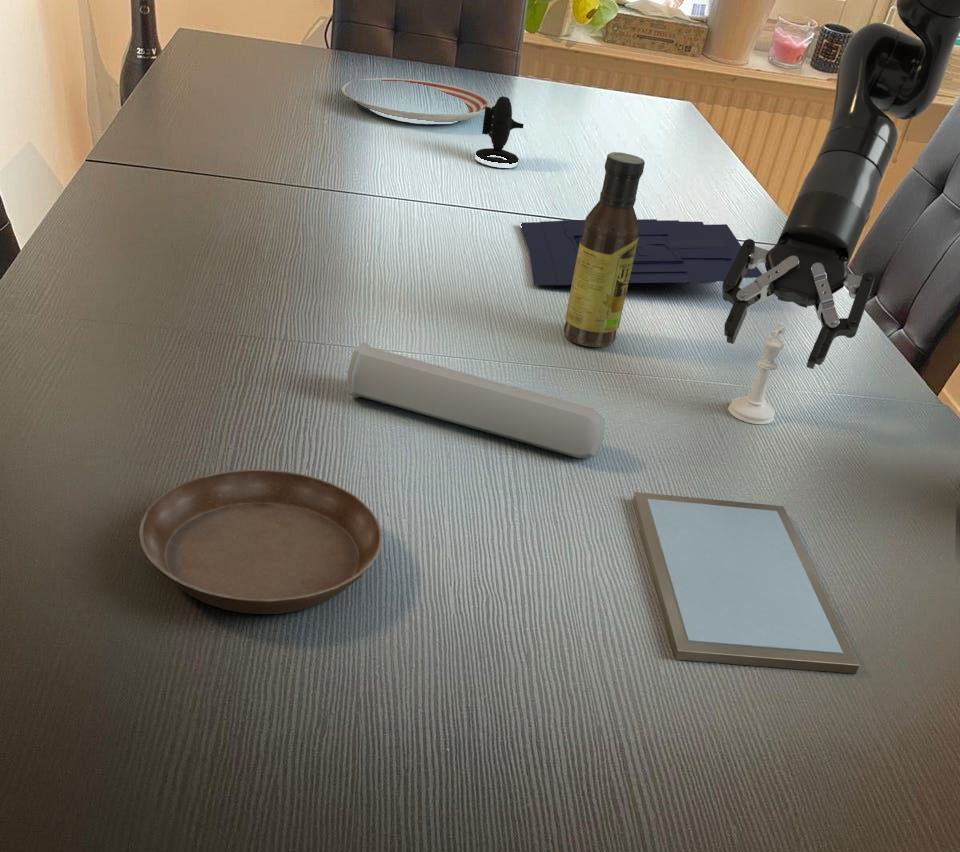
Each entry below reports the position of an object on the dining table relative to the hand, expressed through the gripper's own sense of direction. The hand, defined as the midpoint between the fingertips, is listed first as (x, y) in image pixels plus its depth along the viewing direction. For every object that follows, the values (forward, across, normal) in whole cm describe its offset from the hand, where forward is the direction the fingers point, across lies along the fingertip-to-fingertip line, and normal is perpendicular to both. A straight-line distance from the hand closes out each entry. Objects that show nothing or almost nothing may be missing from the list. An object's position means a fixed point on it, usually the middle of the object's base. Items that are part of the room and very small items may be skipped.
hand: (769, 352), depth 104 cm
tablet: (+27, +7, -17) cm, 32 cm away
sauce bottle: (+1, -21, +10) cm, 23 cm away
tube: (+20, -22, -10) cm, 32 cm away
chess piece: (+5, 0, +6) cm, 7 cm away
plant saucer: (+42, -25, -31) cm, 58 cm away
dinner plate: (-51, -86, +62) cm, 117 cm away
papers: (-18, -26, +29) cm, 43 cm away
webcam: (-40, -61, +50) cm, 88 cm away
